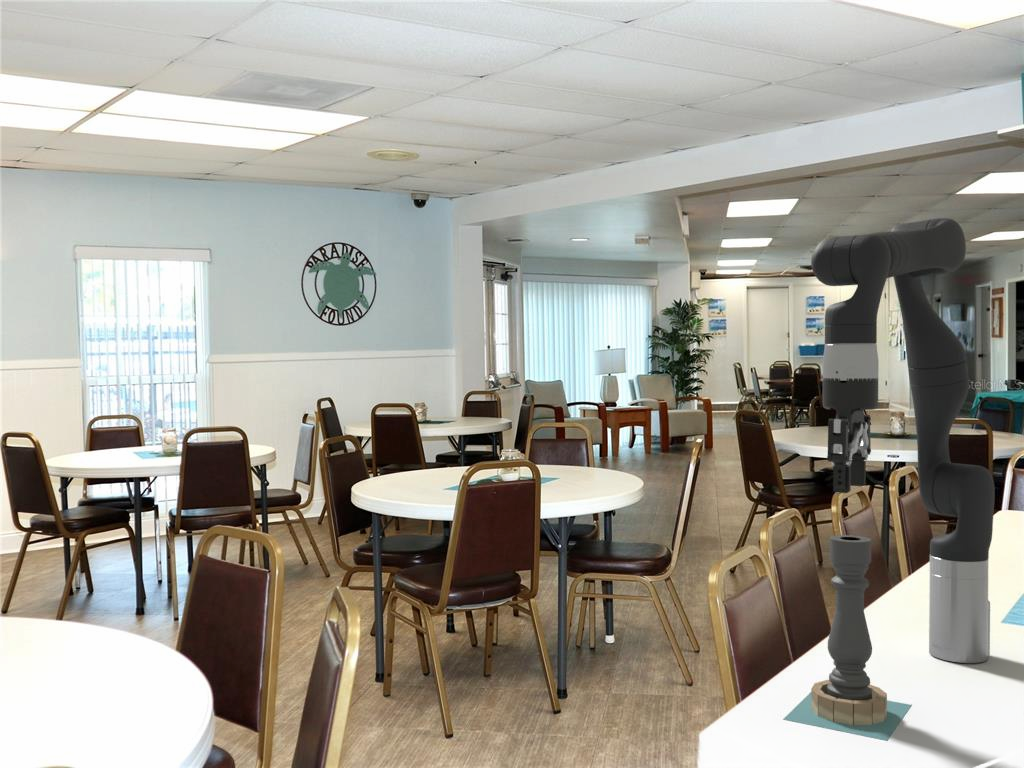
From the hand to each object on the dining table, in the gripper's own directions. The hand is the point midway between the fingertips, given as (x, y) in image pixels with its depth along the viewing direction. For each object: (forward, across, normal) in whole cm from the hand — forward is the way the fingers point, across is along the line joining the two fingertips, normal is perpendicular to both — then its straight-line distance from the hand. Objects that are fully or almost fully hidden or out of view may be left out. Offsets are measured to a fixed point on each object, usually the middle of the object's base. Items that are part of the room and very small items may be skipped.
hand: (849, 489), depth 138 cm
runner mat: (+33, 0, 0) cm, 33 cm away
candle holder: (+32, 0, 0) cm, 32 cm away
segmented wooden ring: (+32, 0, 0) cm, 32 cm away
